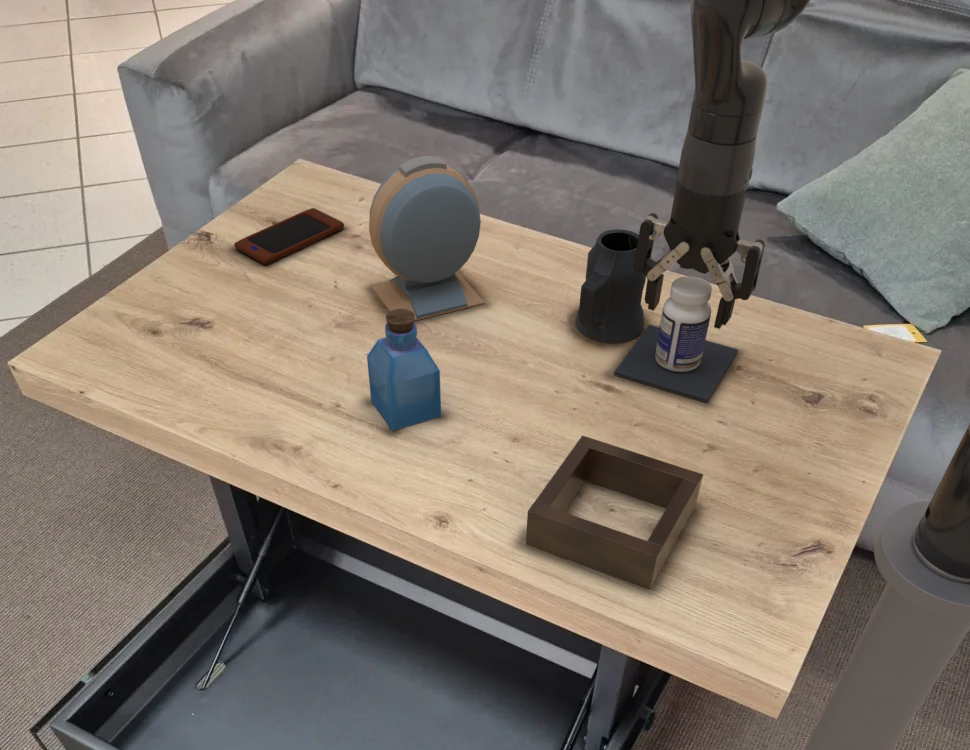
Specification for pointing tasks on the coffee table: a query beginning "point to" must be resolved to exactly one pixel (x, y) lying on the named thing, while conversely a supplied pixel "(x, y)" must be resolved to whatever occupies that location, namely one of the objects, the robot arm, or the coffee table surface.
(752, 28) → the robot arm
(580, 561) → the walnut box
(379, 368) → the perfume bottle
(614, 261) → the black vase
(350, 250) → the coffee table surface
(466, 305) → the alarm clock
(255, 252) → the smartphone
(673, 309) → the pill bottle
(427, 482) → the coffee table surface
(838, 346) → the coffee table surface
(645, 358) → the rubber mat
